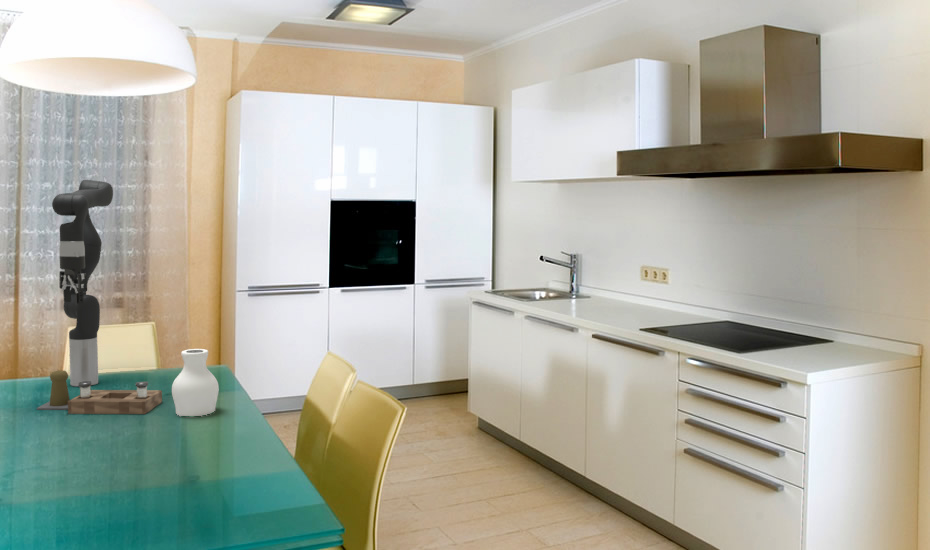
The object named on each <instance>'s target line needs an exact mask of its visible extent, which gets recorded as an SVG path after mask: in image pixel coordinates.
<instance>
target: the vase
mask: <svg viewBox="0 0 930 550" xmlns="http://www.w3.org/2000/svg"><path fill="white" fill-rule="evenodd" d="M180 355H181V358H182V361H183V368H182V369H181V371H180V372H179V374H178V375H177V376H176V377H175V379H174V381H173V382H172V385H171V396H172V399H173V402H174V407H175V414H177V415H176V416H178V415H179V416H178V417H181V416H201V417H203V416H202V415H206V416H208V415H207V414H210V413H212V412H214V411H215V412H216V405H217V401H218V397H219V392H220V390H219V386H220V385H219V382H218V380H217V378H216V377H215V375H214V374H213V373H212V372H211V371H210V370H209V369H208V367H207V360H208V356H209V350H208V349H204V348H189V349H185V350H182V351H181V353H180ZM215 412H214V413H215ZM210 415H211V414H210Z"/></svg>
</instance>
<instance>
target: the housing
mask: <svg viewBox="0 0 930 550" xmlns="http://www.w3.org/2000/svg"><path fill="white" fill-rule="evenodd" d="M90 391H91V398H89V399H80V394H79V395H77V396H76V397H73V398H72V399H70V400H69V401H68V410H67V413H68V415H69V414H74V415H75V414H76V415H78V414H79V415H80V414H81V415H86V414H87V415H90V414H92V415H95V414H96V415H97V414H98V415H146V414H147V413H149V412H150V411H152V410H153V409H154V408H156V407H157V406H159V405H160V404H162V403H163V390H160V389H159V390H158V389H157V390H156V389H154V390H151V389H147V399H137V389H129V390H128V389H90Z"/></svg>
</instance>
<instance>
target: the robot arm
mask: <svg viewBox="0 0 930 550" xmlns="http://www.w3.org/2000/svg"><path fill="white" fill-rule="evenodd" d="M113 197H114V189H113V186H112V185H111V183H109V182H107V181H100V180H99V181H98V180H91V179H82V180H81V181H80V183H79V186H78V190H76V191H74V192H65V193H59V194H57V195H55V196H54V198H53V199H52V201H51V202H52V203H51V207H52V209H53V211H54V213H55V214H56V215H58V216H67V217H69V216H70V217H71V216H73V217H74V219H73V220H72V221H70V222H63V223H61V224H60V225H59V246H58V247H59V248H58V250H59V251H58V252H59V253H58V254H59V269H60V271H59V272H58V273H59V275H58V276H59V277H58V278H59V279H58V280H59V281H58V282H59V289H61V290H62V292H63V293H62V294H63V312H64V314H65V315H66V316H67V317H68V318H70V319H73V320H75V319H76V322H75V323H76V326H75V328H72V329H71V330H69V332H68V342H69V343H68V346H69V349H68V350H69V377H70V379H69V382H70V386H72V387H80V386H79V384H78V383H79V382H83V381H91V382H92V385H91V386H95V385H97V384H99V356H98V355H99V354H98V351H99V350H98V332H99V329H100V323H101V322H100V320H101V319H100V316H101V315H100V313H101V307H100V302H99V300H98V298H97V297H96V296H94V295H92V294H87V291H88V282H89V280H90V278H91V276H92V274H93V272H94V271H95V270H96V268H97V266H98V265H99V263H100V259H101V251H102V244H103V243H102V238H101V237H100V234H99V232H98V231H97V229H96V228H95V226H94V224H93V222H92V221H93V220H92V219H91V216H90V211H89V210H90V209H93V208H95V207H108V206H110V204H111V203H112V201H113V199H114V198H113Z"/></svg>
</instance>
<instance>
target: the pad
mask: <svg viewBox="0 0 930 550" xmlns="http://www.w3.org/2000/svg"><path fill="white" fill-rule="evenodd" d="M38 410H39V411H40V410H41V411H44V410H45V411H68V405H64V406H50V400H49V401H48V402H46V403H44V404H41V405H40V406H37V407H36V411H38Z"/></svg>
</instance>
